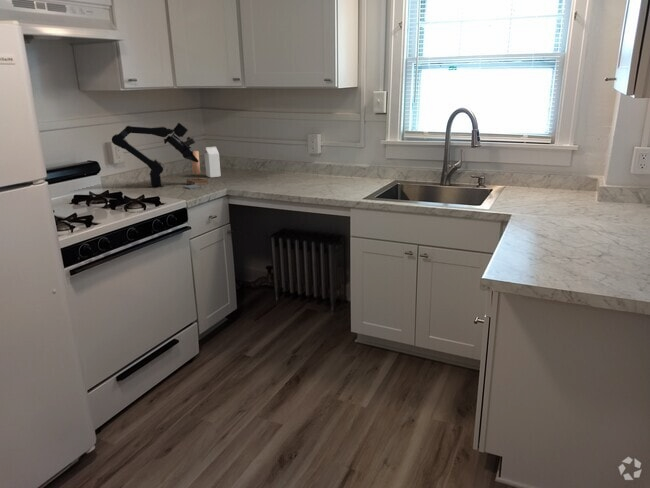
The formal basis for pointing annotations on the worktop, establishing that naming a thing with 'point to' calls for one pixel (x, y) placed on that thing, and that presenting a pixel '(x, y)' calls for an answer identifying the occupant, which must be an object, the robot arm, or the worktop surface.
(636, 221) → the worktop surface
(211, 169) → the milk carton
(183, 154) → the robot arm
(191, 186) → the slate rubber pad
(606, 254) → the worktop surface
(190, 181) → the walnut socket block
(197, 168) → the peach rounded cylinder
